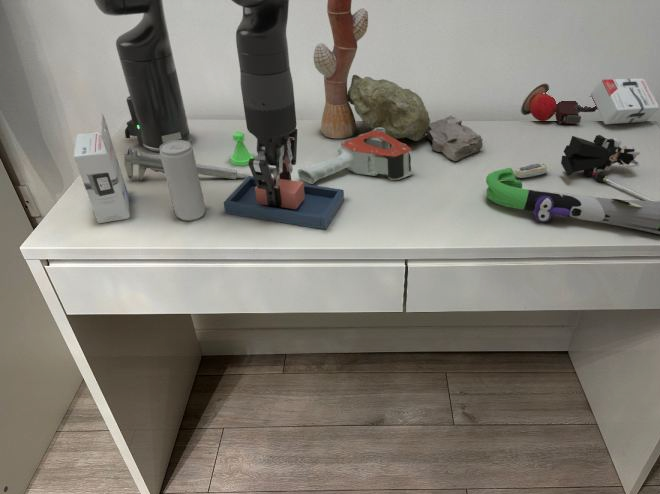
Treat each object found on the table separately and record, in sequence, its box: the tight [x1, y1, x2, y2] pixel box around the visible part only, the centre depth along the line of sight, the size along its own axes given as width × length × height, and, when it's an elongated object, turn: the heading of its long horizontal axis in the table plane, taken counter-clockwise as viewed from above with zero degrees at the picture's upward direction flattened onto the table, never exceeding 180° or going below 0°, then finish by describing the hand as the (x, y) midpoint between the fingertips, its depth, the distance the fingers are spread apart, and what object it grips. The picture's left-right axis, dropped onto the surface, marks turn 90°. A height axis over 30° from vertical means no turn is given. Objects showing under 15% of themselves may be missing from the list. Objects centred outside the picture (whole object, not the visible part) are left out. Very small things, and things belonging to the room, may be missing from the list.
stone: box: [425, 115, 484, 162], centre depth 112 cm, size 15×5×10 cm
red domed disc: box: [520, 82, 557, 122], centre depth 122 cm, size 8×8×6 cm
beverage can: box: [159, 140, 207, 222], centre depth 87 cm, size 5×5×12 cm
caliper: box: [123, 145, 245, 182], centre depth 98 cm, size 20×1×6 cm, turn 94°
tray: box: [222, 175, 345, 230], centre depth 93 cm, size 18×10×2 cm, turn 75°
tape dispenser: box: [297, 127, 414, 185], centre depth 103 cm, size 18×5×20 cm
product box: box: [73, 112, 131, 224], centre depth 87 cm, size 9×5×15 cm, turn 21°
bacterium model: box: [513, 163, 551, 179], centre depth 102 cm, size 12×2×5 cm
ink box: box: [590, 77, 660, 125], centre depth 122 cm, size 8×5×12 cm
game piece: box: [230, 131, 255, 167], centre depth 104 cm, size 4×4×6 cm
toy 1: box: [485, 167, 660, 235], centre depth 92 cm, size 6×11×30 cm
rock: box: [347, 74, 431, 141], centre depth 114 cm, size 15×19×15 cm
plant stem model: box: [313, 0, 369, 140], centre depth 107 cm, size 10×7×30 cm
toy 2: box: [560, 134, 655, 201], centre depth 97 cm, size 8×20×15 cm
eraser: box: [255, 177, 305, 209], centre depth 92 cm, size 4×7×3 cm, turn 75°
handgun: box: [554, 101, 598, 125], centre depth 127 cm, size 24×3×15 cm
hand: (280, 199), depth 92 cm, fingers closed on eraser, 4 cm apart
